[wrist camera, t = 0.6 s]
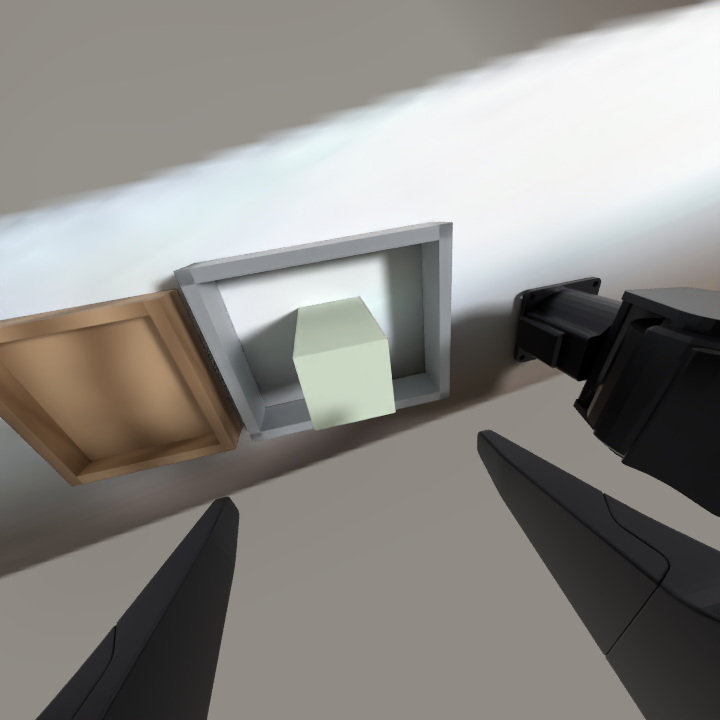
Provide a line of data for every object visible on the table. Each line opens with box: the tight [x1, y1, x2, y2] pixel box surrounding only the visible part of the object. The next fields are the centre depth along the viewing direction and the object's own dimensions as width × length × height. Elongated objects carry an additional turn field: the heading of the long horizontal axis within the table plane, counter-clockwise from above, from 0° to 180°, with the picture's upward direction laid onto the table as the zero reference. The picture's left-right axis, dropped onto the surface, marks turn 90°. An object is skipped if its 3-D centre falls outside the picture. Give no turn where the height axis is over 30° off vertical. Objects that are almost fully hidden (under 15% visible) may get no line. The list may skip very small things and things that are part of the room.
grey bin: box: [174, 222, 453, 442], centre depth 19 cm, size 16×13×3 cm
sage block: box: [293, 296, 396, 431], centre depth 17 cm, size 4×4×8 cm
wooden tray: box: [0, 289, 242, 486], centre depth 19 cm, size 12×12×2 cm
